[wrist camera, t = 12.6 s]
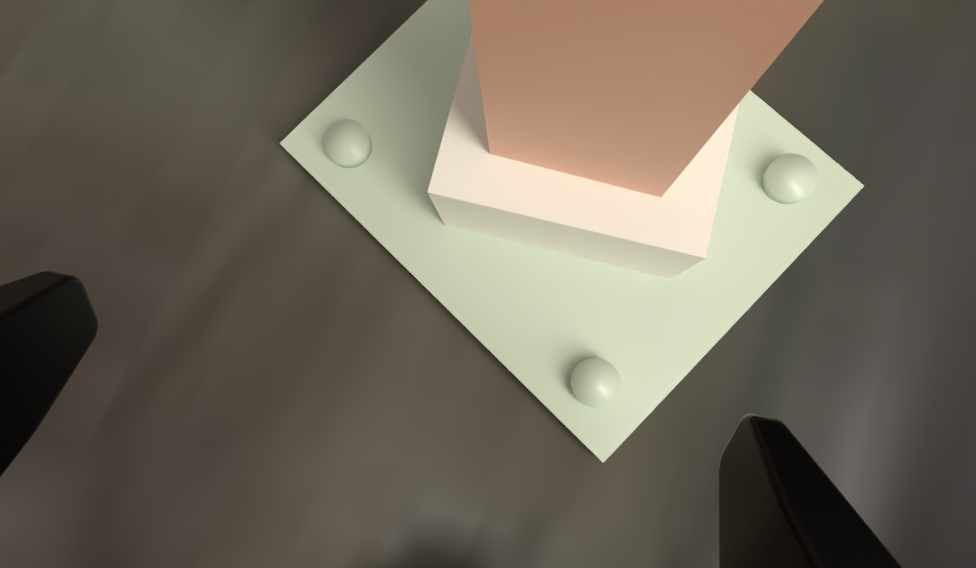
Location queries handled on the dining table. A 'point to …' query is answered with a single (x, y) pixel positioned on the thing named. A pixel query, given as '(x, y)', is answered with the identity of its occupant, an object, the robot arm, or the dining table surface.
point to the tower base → (542, 294)
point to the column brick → (621, 79)
